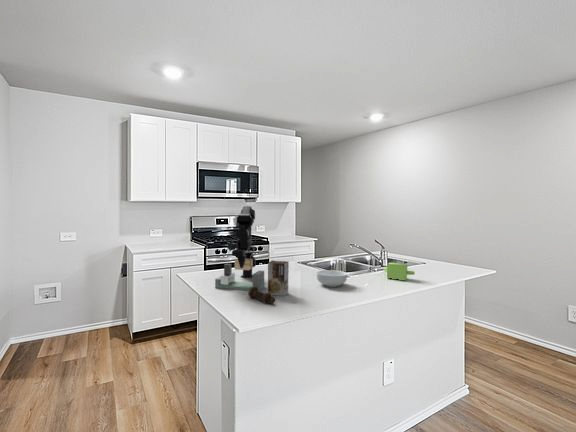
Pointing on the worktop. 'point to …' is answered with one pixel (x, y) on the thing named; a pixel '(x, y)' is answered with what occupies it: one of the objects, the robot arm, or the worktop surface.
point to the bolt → (261, 295)
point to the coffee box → (278, 278)
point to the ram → (227, 275)
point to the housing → (247, 264)
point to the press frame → (244, 283)
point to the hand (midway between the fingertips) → (243, 266)
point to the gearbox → (397, 271)
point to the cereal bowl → (331, 277)
